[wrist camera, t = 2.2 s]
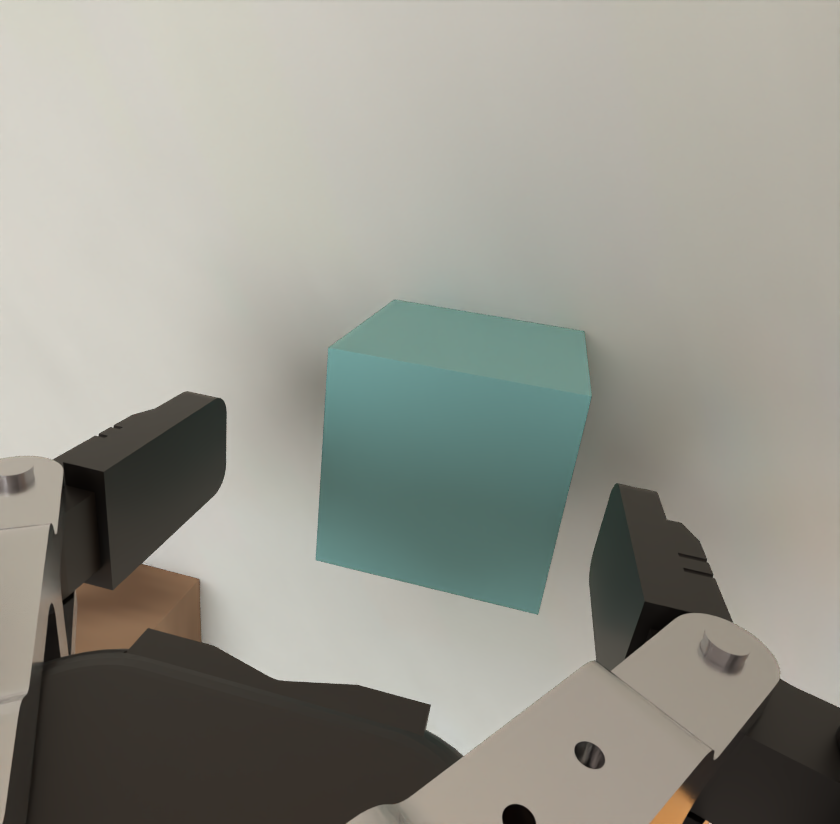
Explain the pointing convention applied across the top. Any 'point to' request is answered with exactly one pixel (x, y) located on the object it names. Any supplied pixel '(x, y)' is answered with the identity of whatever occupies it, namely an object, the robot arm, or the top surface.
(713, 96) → the top surface
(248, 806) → the robot arm
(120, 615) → the walnut base
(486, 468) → the teal block
